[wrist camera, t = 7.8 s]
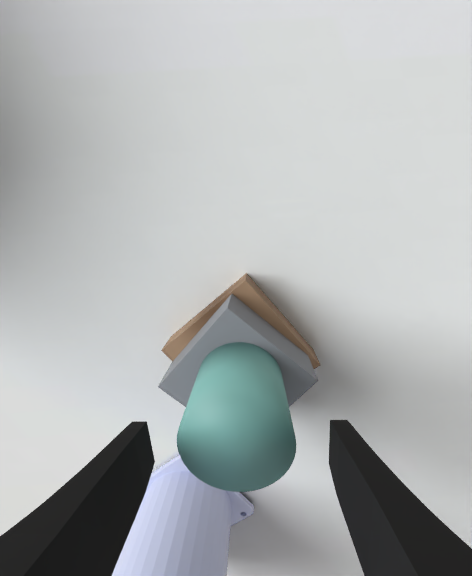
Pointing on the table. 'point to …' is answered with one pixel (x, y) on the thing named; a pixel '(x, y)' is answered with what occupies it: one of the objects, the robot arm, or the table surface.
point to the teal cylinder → (237, 420)
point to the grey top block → (238, 328)
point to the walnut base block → (256, 302)
